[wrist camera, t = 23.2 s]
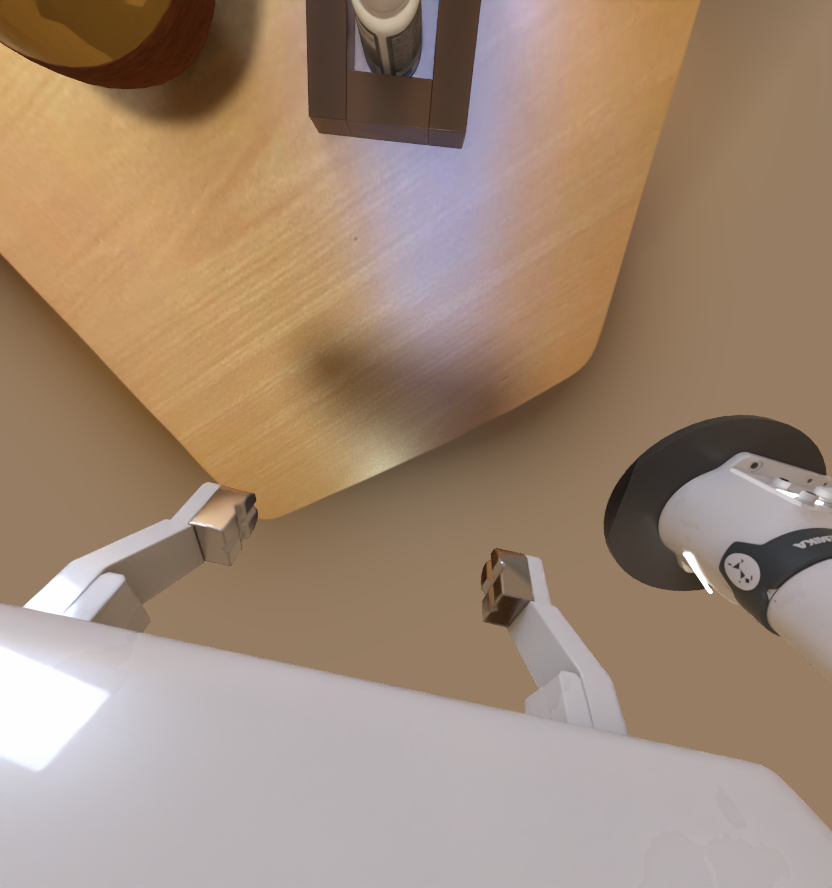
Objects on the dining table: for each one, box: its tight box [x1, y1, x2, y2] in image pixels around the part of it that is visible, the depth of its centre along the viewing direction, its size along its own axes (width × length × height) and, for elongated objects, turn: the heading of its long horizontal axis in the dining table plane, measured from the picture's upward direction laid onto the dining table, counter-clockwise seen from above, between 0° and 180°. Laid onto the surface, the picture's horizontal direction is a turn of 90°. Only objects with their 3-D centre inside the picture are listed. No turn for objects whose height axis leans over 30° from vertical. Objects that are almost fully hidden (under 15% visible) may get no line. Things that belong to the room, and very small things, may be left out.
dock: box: [306, 0, 481, 148], centre depth 26 cm, size 13×13×3 cm
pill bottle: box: [351, 0, 422, 77], centre depth 24 cm, size 5×5×8 cm
